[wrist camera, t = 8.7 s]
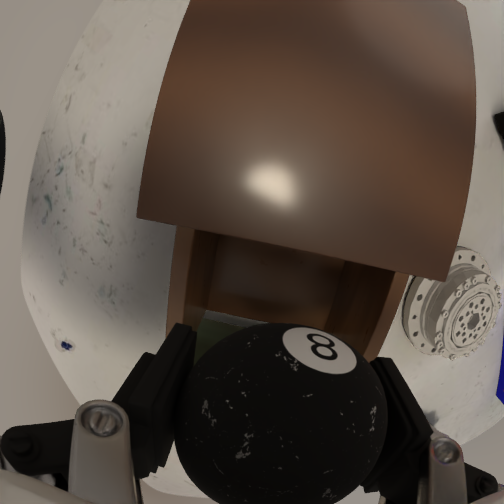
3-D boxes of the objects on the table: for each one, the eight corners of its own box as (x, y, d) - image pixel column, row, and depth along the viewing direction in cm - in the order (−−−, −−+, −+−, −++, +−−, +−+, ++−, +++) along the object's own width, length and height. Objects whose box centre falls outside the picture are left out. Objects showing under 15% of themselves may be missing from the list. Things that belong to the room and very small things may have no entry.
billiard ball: (382, 316, 9) (466, 435, 3) (318, 425, 11) (333, 537, 5) (219, 269, 9) (151, 401, 3) (187, 396, 11) (145, 513, 5)
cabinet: (369, 236, 19) (445, 283, 10) (199, 199, 19) (135, 218, 10) (397, 61, 16) (465, 6, 6) (240, 22, 16) (222, -65, 6)
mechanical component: (386, 284, 20) (414, 365, 22) (411, 307, 16) (433, 392, 18) (472, 225, 18) (487, 311, 20) (504, 235, 14) (512, 329, 16)
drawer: (310, 395, 22) (321, 469, 14) (182, 372, 22) (152, 442, 14) (379, 184, 18) (447, 189, 9) (215, 146, 18) (175, 121, 10)
